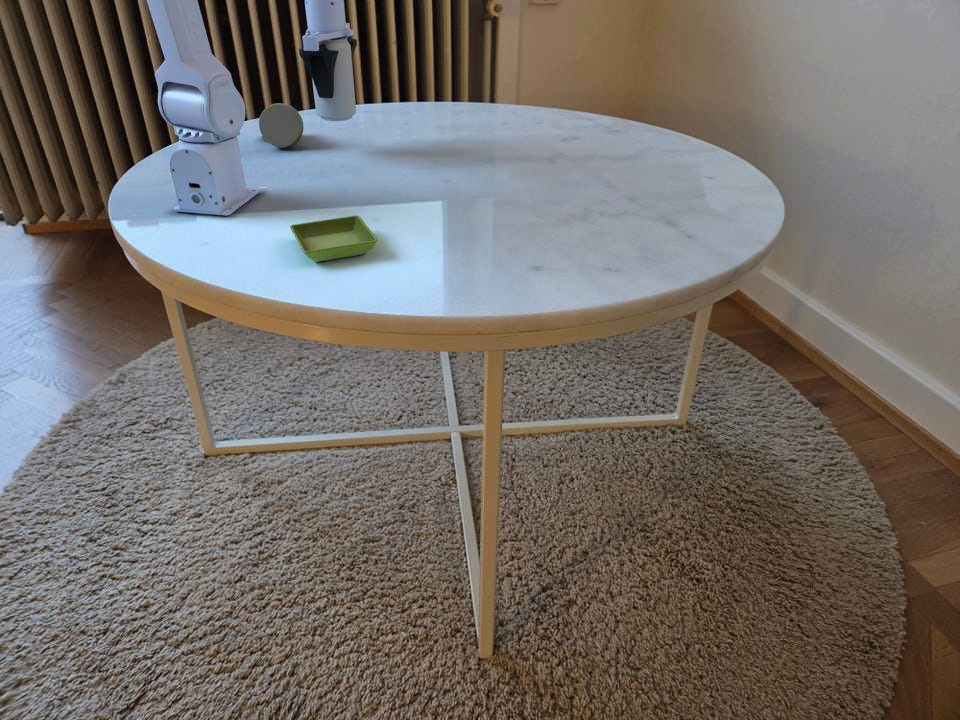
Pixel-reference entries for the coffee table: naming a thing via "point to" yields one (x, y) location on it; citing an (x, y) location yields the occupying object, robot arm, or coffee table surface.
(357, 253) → the green tray
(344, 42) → the beverage can
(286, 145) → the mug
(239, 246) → the coffee table surface
